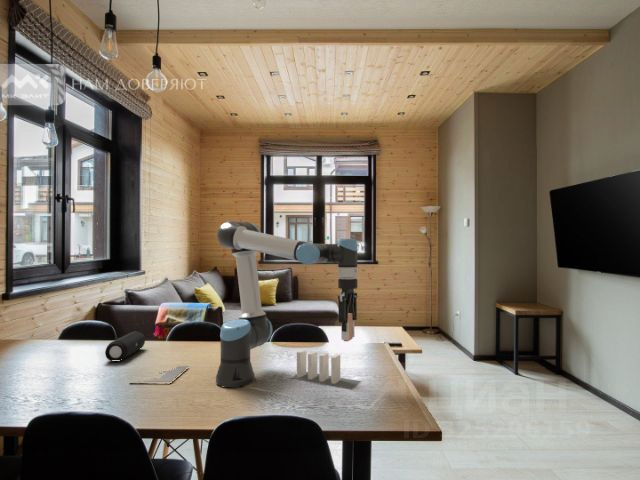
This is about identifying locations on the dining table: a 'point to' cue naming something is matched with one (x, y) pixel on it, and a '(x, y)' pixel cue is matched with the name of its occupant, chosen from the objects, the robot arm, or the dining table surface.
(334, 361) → the domino
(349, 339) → the end domino
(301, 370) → the domino
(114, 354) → the portable speaker
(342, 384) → the mat
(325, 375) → the domino
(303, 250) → the robot arm
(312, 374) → the domino
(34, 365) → the dining table surface
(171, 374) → the play button award
